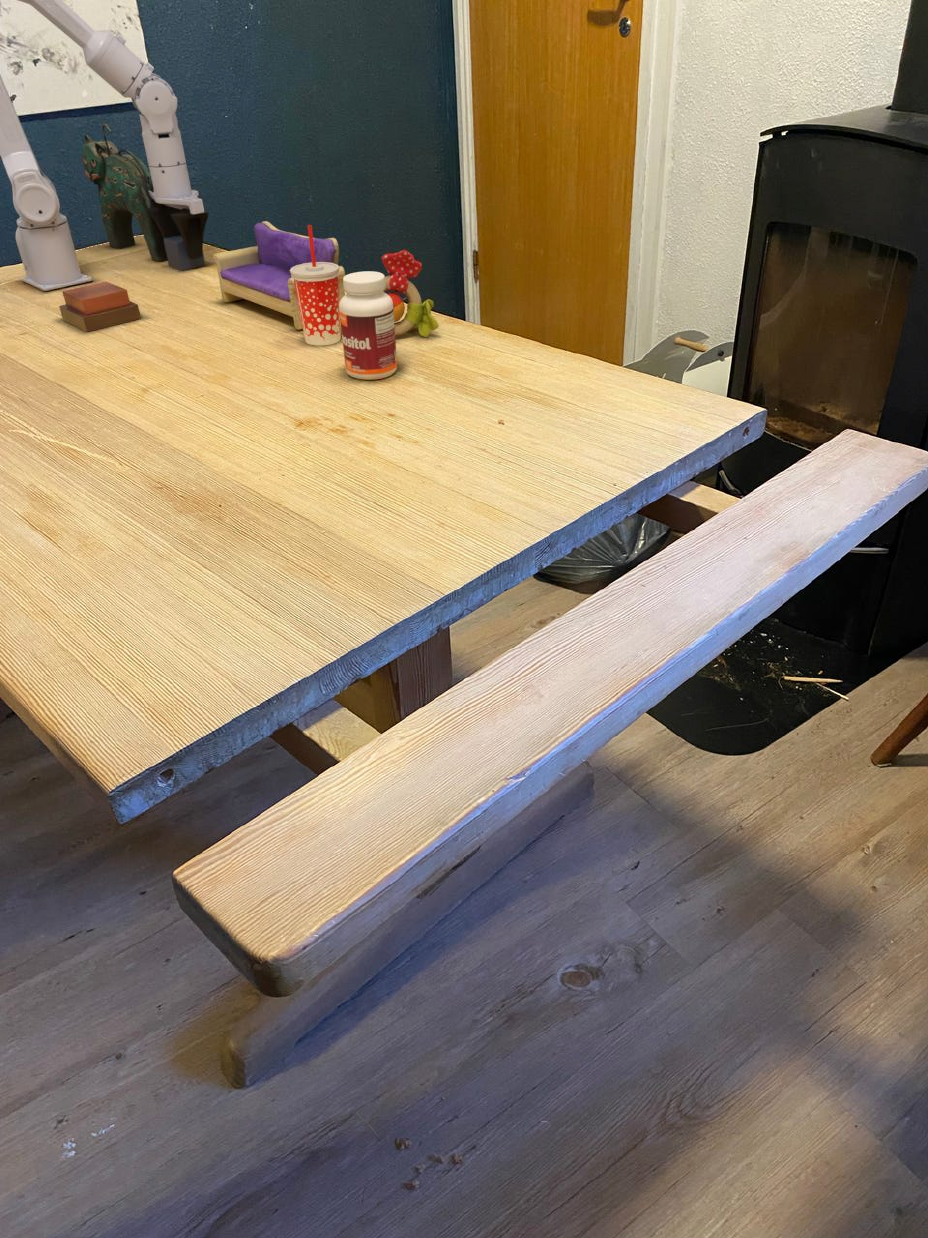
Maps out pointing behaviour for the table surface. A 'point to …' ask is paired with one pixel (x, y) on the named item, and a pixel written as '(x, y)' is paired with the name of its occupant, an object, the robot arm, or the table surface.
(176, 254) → the cube
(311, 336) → the beverage cup
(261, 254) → the toy sofa
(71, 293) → the stack
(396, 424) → the table surface
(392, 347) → the pill bottle
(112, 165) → the green animal figurine
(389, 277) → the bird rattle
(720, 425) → the table surface
